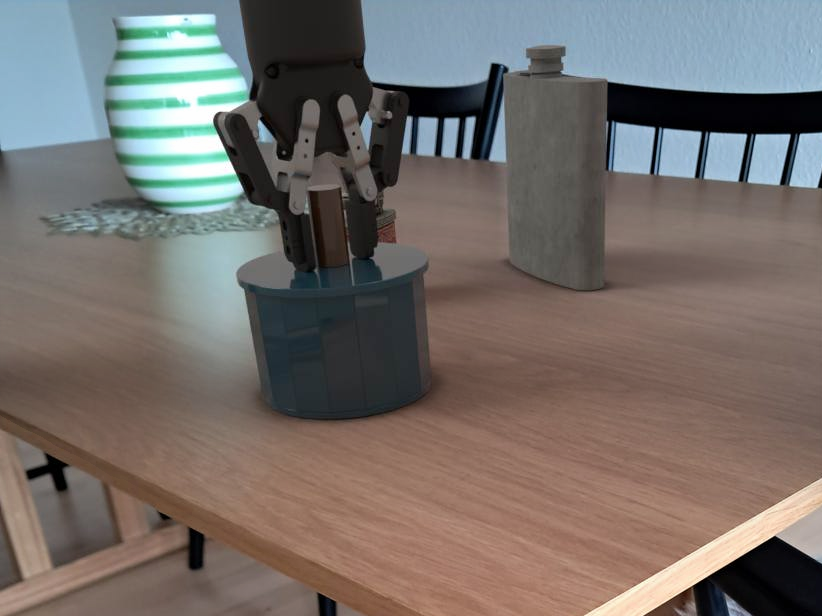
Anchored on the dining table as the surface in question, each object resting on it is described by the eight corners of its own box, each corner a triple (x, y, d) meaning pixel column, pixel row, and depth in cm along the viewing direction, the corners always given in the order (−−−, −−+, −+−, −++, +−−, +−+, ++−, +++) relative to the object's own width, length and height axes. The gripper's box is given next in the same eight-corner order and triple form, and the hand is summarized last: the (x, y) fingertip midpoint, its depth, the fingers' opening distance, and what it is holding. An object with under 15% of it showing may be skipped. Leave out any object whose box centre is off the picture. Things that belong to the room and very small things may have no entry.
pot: (259, 426, 71) (237, 303, 66) (268, 369, 81) (250, 259, 76) (438, 410, 72) (428, 287, 67) (424, 355, 82) (415, 246, 77)
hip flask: (610, 286, 97) (615, 45, 86) (573, 294, 95) (573, 49, 84) (530, 256, 109) (525, 41, 98) (496, 261, 107) (488, 44, 96)
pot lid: (231, 315, 66) (213, 214, 63) (245, 266, 77) (230, 178, 74) (438, 297, 67) (431, 197, 64) (422, 252, 78) (415, 165, 75)
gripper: (363, -30, 68) (389, 237, 77) (163, -18, 61) (219, 274, 71) (426, -35, 63) (446, 252, 72) (216, -23, 56) (268, 293, 65)
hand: (333, 261), depth 71 cm, fingers open, 4 cm apart
